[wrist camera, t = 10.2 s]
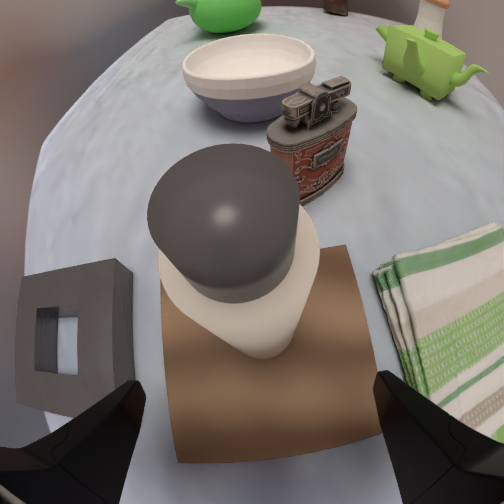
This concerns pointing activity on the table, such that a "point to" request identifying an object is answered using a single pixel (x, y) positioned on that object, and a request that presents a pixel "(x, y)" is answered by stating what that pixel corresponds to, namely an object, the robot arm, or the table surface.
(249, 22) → the toy bird
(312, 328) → the board
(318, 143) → the lighter
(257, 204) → the white bottle
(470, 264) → the dish towel
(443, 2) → the pepper shaker
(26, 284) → the housing
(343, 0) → the candle
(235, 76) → the bowl
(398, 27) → the kettle
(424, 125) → the table surface
